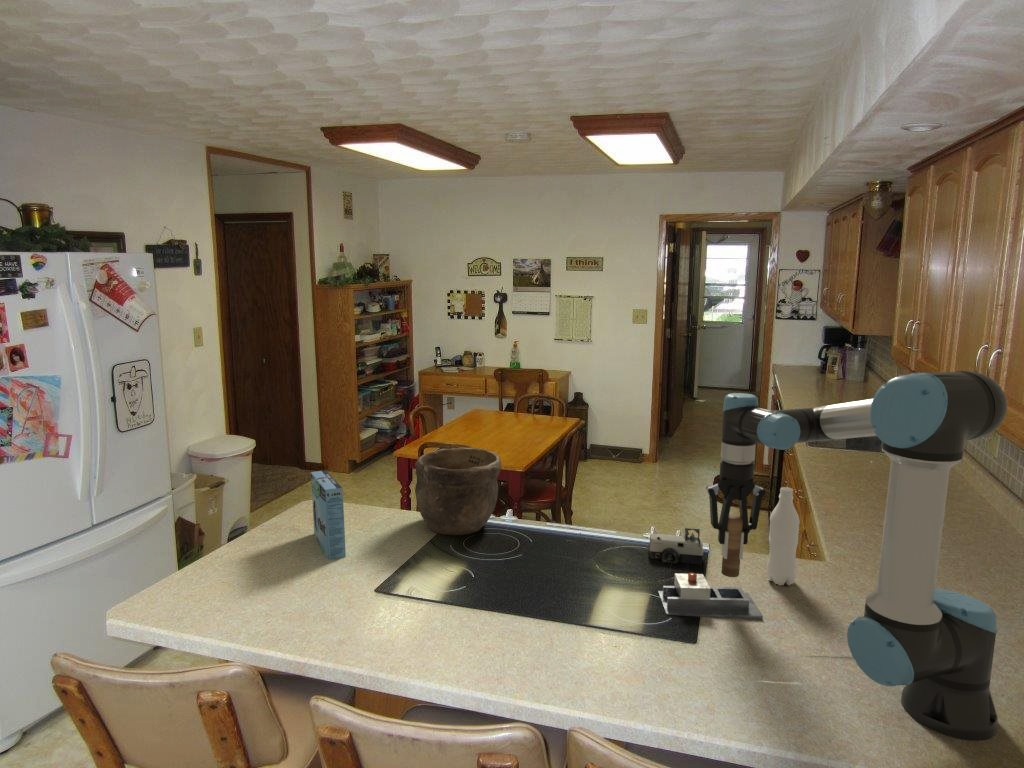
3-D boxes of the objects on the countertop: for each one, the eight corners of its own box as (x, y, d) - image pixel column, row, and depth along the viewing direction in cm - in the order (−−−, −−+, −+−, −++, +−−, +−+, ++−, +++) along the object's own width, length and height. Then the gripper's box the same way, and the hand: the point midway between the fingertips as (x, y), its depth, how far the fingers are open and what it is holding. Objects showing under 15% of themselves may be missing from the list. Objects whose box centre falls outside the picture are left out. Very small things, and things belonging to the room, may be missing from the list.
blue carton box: (346, 570, 189) (343, 487, 186) (327, 573, 187) (324, 490, 184) (331, 545, 207) (328, 469, 203) (313, 548, 204) (310, 471, 201)
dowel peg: (740, 577, 166) (745, 520, 163) (723, 576, 166) (728, 520, 164) (736, 570, 170) (741, 514, 167) (719, 569, 170) (723, 514, 168)
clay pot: (468, 559, 196) (468, 472, 193) (397, 541, 210) (396, 459, 206) (517, 531, 219) (517, 452, 215) (450, 516, 232) (449, 441, 228)
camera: (647, 565, 194) (648, 530, 192) (649, 555, 201) (650, 521, 199) (703, 571, 190) (705, 535, 188) (703, 560, 197) (705, 526, 195)
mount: (762, 620, 163) (763, 605, 162) (666, 617, 164) (666, 603, 163) (747, 596, 174) (748, 583, 174) (657, 594, 175) (658, 581, 175)
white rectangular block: (710, 599, 165) (710, 581, 164) (680, 599, 165) (681, 581, 164) (702, 584, 172) (703, 567, 172) (674, 584, 173) (674, 567, 172)
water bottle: (797, 589, 179) (804, 494, 175) (768, 586, 180) (774, 492, 176) (792, 577, 186) (798, 485, 182) (764, 575, 187) (769, 483, 183)
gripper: (766, 456, 167) (760, 551, 170) (699, 455, 167) (694, 549, 171) (777, 465, 159) (770, 563, 163) (706, 464, 160) (701, 562, 164)
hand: (731, 556), depth 167 cm, fingers closed on dowel peg, 3 cm apart
